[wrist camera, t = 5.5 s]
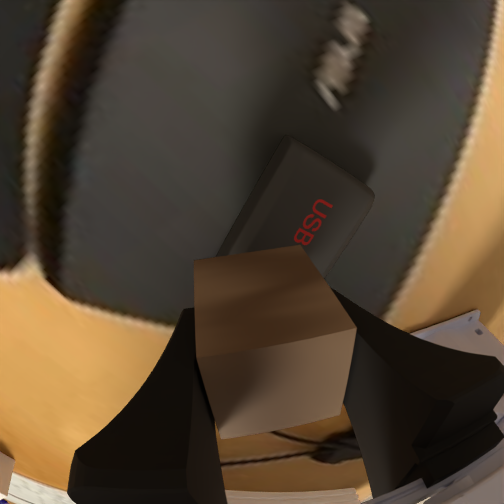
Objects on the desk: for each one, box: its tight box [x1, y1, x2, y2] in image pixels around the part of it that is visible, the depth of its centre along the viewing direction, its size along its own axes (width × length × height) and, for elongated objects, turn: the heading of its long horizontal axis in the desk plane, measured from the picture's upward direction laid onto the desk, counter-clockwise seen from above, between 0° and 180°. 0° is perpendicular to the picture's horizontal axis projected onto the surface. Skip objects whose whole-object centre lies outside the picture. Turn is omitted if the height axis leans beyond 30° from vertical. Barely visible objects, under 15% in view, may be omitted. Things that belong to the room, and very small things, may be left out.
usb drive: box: [216, 135, 375, 279], centre depth 16 cm, size 5×12×3 cm, turn 150°
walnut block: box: [194, 245, 357, 439], centre depth 10 cm, size 4×4×5 cm
